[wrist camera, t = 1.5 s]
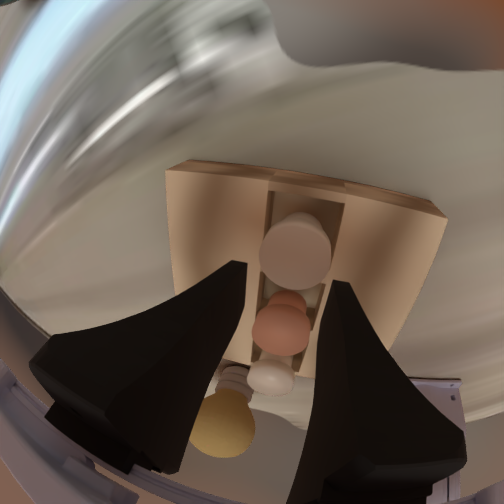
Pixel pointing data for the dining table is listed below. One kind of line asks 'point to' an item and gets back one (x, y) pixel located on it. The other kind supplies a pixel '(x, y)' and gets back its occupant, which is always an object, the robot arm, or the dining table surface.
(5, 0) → the vase
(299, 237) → the plug near
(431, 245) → the socket board
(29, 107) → the dining table surface
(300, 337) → the plug mid
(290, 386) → the plug far
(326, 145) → the dining table surface
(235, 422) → the light bulb
